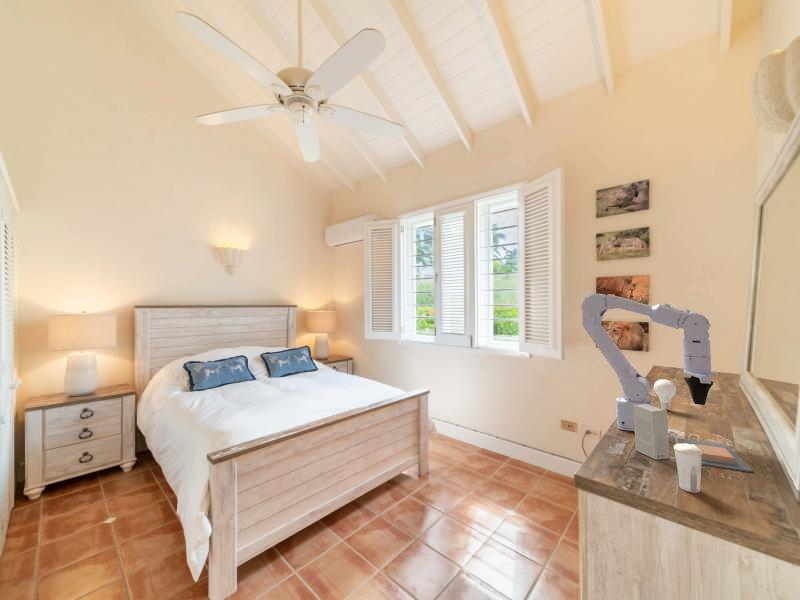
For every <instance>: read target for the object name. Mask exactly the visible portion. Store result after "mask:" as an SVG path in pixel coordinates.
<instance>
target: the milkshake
mask: <svg viewBox="0 0 800 600" xmlns="http://www.w3.org/2000/svg"><path fill="white" fill-rule="evenodd" d="M673 438H675V440H674V441H675V445H673V453H674V458H675V459H674V460H675V464H676V470H677V477H678V485H679V488H680V489H682V490H683V491H685V492H688V493H693V494H698V493H701V480H702V465H701V464H702V450H701V449H699V448H698V447H697V446H695V445H693V444H686V443H684V444H679V443H678V440H677V435H676V434H673Z"/></svg>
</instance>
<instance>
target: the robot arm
mask: <svg viewBox="0 0 800 600" xmlns="http://www.w3.org/2000/svg"><path fill="white" fill-rule="evenodd" d="M580 308H581V312H582V313H581V317H582V320H581V321H582V327H583V328H584V329H585V331H586V332H587V334H588V335H589V337H590V338H591V340H592V341H593V342H594V344H595V346H596V347H597V348H598V350H599V351H600V352H601V353H602V356H603V357H604V358H605V359H606V361H607V362H608V364H609V365H610V366H611V368H612V370H613V371H614V372H615V373H616V376H617V378H618V382H619V383H620V384H621V387H622V391H623V394H624V395H623V397H616V398H615V407H616V408H615V411H616V413H615V414H616V415H615V421H616V425H617V428H618V429H619V430H623V431H631V432H635V426H634V405H640V404H648V405H651V406H653V399H652V398H651V397H650V395H649V392H650V391H651V382H650V381H649V380H648V378H646V377H645V376H643V375H642V374H641V373H639V371H638V370H637V369H636V368H634V366H632V364H631V363H630V361H629V360H628V359H627V357H626V356H625V355H624V353H623V352H622V351H621V350H620V348H619V346H618V345H617V344H616V342H615V341H614V340H613V339H612V337H611V336H610V334H609V333H608V331H606V329H605V328H604V326H603V325H602V321H603V318H604V315H605V313H606V312H607V311H608V310H615V309H621V310H625V311H629V312H632V313H636V314H640V315H643V316H648V317H649V318H650V320H651V322H653V323H657V324H660V325H663V326H665V327H670V328H673V329H676V330H679V329H683V339H682V345H683V346H682V347H683V349H682V350H683V364H684V365H683V367H684V369H683V374H685V375H688V377H686V376H684V377H683V380H684V381H685V382H686V384H687V386H688V388H689V389H688V390H689V392H690V396H691V399H692V402H693V404H695V405H702V406H705V405H706V401H707V398H708V393H709V391H710V389H711V388H712V386H714V381H712V376H718V372H716V371H712V358H711V357H712V356H711V340H710V339H709V338H710V333H709V329H710V328H711V324H710V322H709V319H708V318H707V317H706V316H705V315H704V314H703V315H702V314H700V313H698V312H691V309H688V308H686V310H684V309H682V308H681V309H680V308H678V307H675V306H671V304H669V303H666V302H665V303H664V304H662V303H658V304H656V305H652V306H651V305H649V304H645V303H643V302H639V301H636V300H631V299H628V298H625V297H622V296H617V295H609V294H603V293H590V294H587V295H586V296H585V297H584V298H583V301H582V304H581V306H580ZM689 376H690V377H689ZM616 418H617V419H616Z"/></svg>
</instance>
